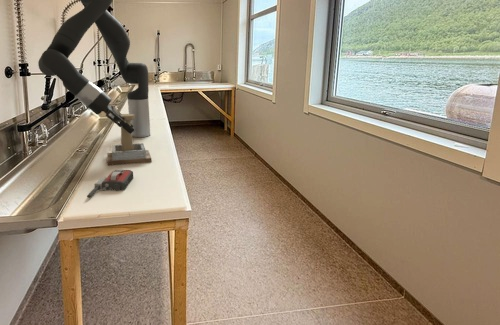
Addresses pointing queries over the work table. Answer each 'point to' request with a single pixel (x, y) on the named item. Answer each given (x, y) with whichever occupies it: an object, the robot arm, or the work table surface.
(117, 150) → the collar
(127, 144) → the handle
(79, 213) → the work table surface
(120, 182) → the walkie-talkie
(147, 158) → the board
